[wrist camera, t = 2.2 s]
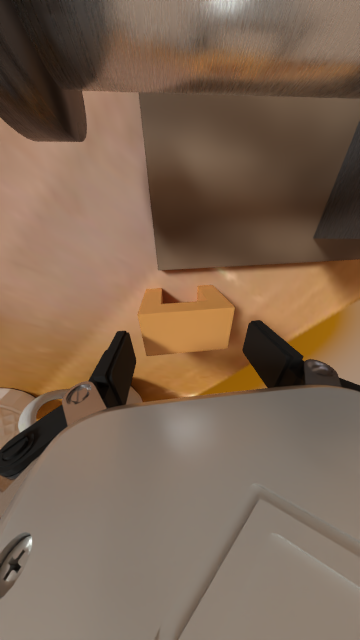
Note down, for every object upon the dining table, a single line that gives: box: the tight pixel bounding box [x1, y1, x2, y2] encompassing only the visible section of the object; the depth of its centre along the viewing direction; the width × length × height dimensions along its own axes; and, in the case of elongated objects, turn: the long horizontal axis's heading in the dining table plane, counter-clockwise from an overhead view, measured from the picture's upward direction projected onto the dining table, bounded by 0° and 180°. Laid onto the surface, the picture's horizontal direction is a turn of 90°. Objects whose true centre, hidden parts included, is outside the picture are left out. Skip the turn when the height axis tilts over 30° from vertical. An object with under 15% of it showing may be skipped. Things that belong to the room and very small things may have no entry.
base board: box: [139, 92, 360, 270], centre depth 10 cm, size 16×20×1 cm
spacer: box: [138, 285, 235, 356], centre depth 13 cm, size 4×7×6 cm, turn 92°
